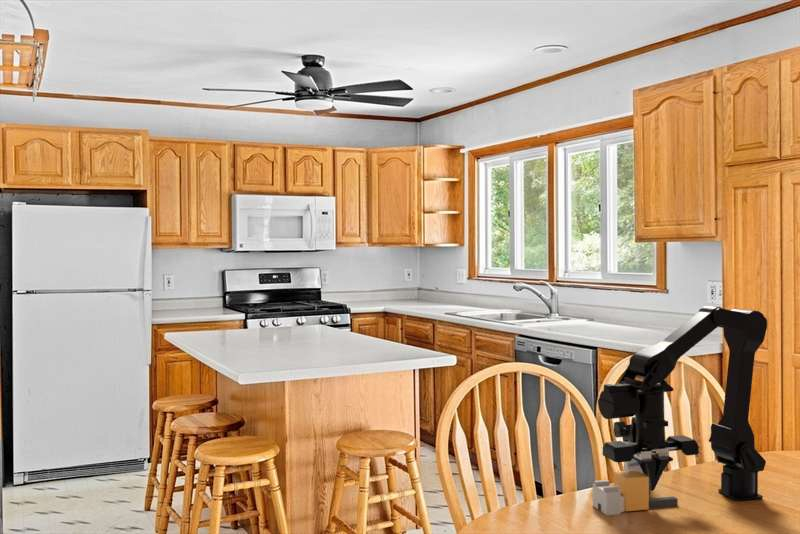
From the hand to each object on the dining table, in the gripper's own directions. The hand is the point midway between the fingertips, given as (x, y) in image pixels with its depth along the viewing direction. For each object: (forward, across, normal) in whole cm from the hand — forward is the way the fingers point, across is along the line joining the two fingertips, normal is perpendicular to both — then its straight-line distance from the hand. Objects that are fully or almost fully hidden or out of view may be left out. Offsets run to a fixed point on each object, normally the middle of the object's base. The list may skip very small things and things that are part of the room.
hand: (651, 490), depth 157 cm
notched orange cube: (+3, +5, 0) cm, 6 cm away
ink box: (+4, -4, -13) cm, 14 cm away
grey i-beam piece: (+3, +10, 0) cm, 11 cm away
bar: (+3, +3, 0) cm, 4 cm away
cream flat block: (+3, +8, 0) cm, 8 cm away
